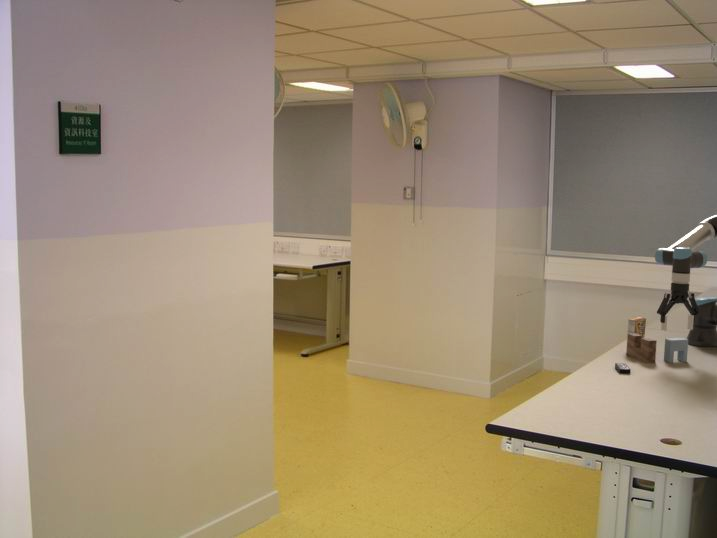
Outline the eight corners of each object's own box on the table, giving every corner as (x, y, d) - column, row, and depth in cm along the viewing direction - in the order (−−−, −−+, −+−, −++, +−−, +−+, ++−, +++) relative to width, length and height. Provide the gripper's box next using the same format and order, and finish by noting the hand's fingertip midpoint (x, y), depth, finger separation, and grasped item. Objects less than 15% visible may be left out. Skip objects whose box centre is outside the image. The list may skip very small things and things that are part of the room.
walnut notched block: (634, 354, 367) (635, 333, 365) (655, 362, 351) (656, 340, 350) (626, 354, 366) (627, 333, 364) (647, 363, 350) (648, 340, 349)
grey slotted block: (681, 359, 358) (682, 337, 357) (686, 361, 354) (688, 339, 353) (663, 360, 356) (665, 338, 355) (669, 362, 352) (670, 340, 351)
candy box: (636, 348, 380) (638, 316, 378) (644, 349, 377) (646, 318, 375) (626, 350, 375) (627, 318, 373) (634, 352, 372) (635, 320, 370)
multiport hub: (619, 374, 331) (619, 369, 331) (614, 368, 342) (615, 362, 342) (630, 374, 331) (630, 369, 330) (625, 368, 341) (625, 363, 341)
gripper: (698, 281, 358) (695, 327, 360) (650, 281, 351) (647, 328, 354) (710, 283, 350) (706, 330, 353) (661, 283, 344) (657, 331, 346)
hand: (676, 329), depth 353 cm, fingers open, 13 cm apart
